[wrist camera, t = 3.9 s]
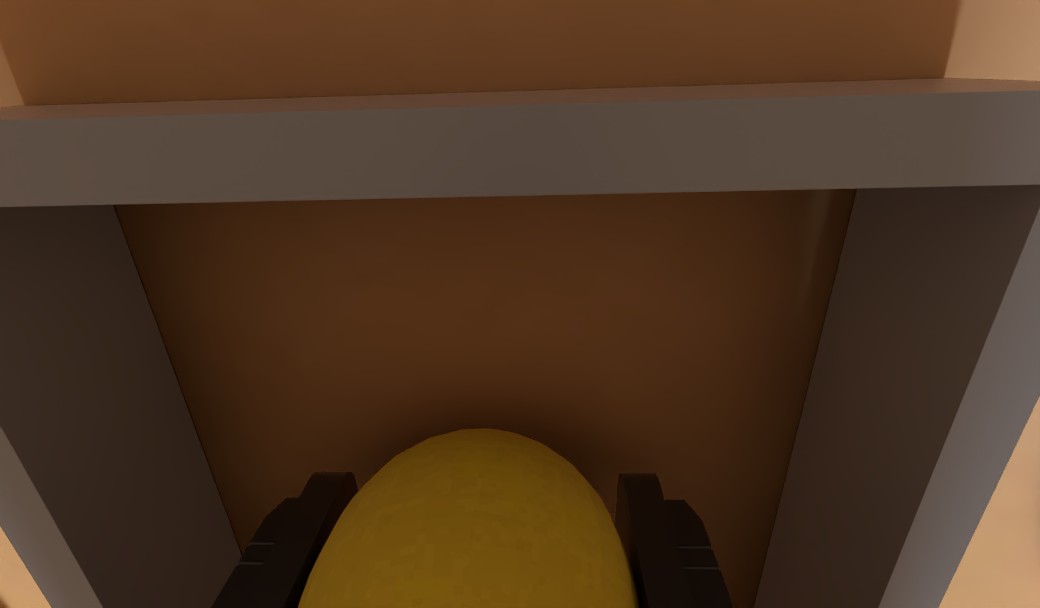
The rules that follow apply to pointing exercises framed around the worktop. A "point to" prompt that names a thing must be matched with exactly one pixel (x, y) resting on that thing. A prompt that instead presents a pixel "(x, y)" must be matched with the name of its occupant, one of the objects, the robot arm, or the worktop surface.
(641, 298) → the worktop surface
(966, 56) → the worktop surface
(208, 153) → the case
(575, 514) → the lemon
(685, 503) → the robot arm
